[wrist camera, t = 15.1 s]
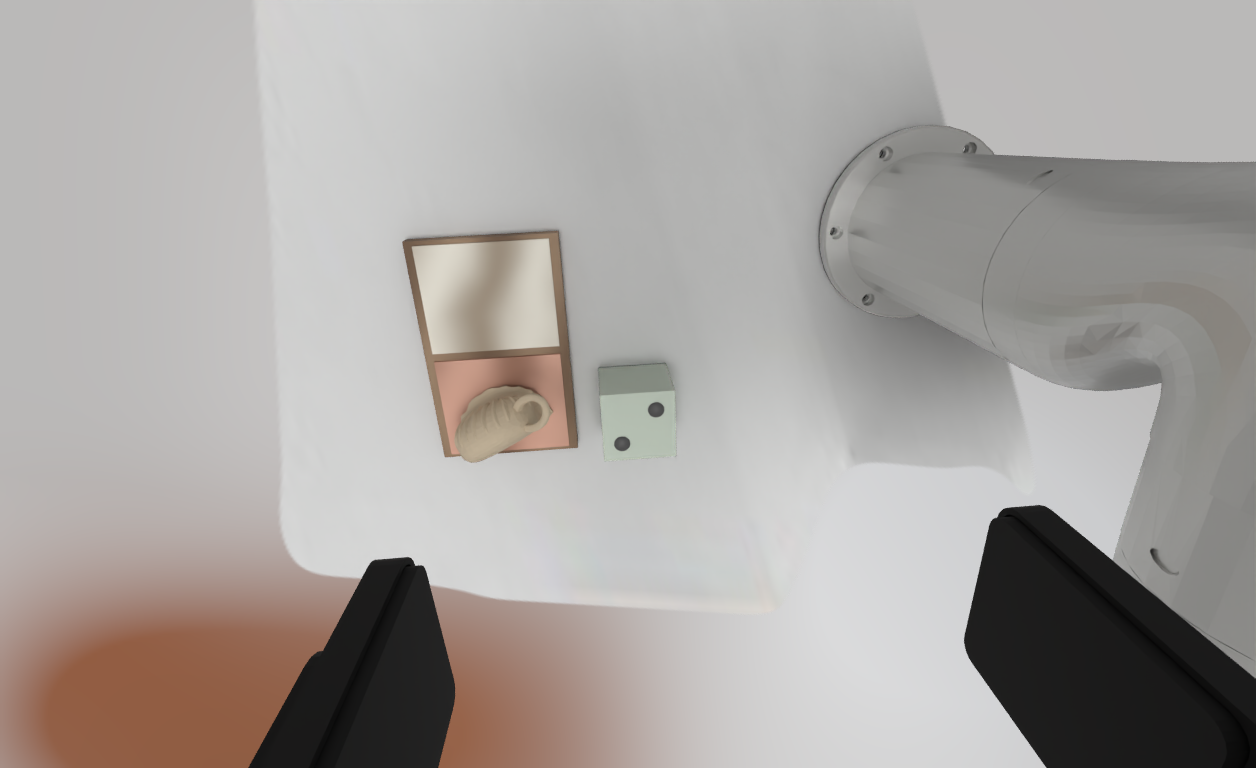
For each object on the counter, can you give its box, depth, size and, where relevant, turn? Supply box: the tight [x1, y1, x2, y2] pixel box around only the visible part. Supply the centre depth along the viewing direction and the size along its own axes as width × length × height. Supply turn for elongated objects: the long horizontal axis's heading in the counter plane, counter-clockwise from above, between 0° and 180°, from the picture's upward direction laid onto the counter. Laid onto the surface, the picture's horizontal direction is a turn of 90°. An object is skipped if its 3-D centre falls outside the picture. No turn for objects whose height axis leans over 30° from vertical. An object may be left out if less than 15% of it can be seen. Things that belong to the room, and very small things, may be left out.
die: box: [598, 363, 676, 461], centre depth 41 cm, size 5×5×5 cm
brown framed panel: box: [402, 231, 578, 457], centre depth 41 cm, size 10×16×1 cm, turn 3°
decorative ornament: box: [454, 386, 553, 463], centre depth 40 cm, size 4×8×5 cm, turn 118°
